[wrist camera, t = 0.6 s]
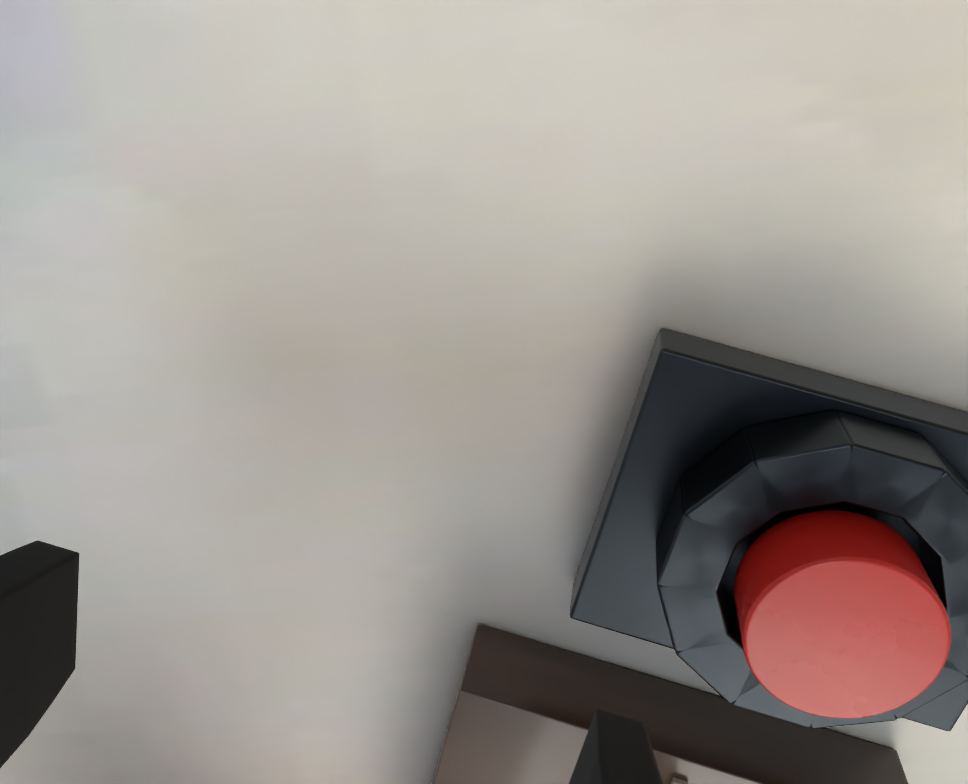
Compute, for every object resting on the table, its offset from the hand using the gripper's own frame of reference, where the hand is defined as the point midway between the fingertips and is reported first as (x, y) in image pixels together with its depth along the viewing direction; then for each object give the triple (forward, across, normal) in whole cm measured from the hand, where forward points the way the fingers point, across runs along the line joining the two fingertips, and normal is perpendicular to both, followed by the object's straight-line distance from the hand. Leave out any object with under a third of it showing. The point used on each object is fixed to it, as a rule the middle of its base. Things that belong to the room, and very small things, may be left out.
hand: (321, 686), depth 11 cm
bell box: (+9, -8, 0) cm, 13 cm away
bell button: (+7, -8, 0) cm, 11 cm away
